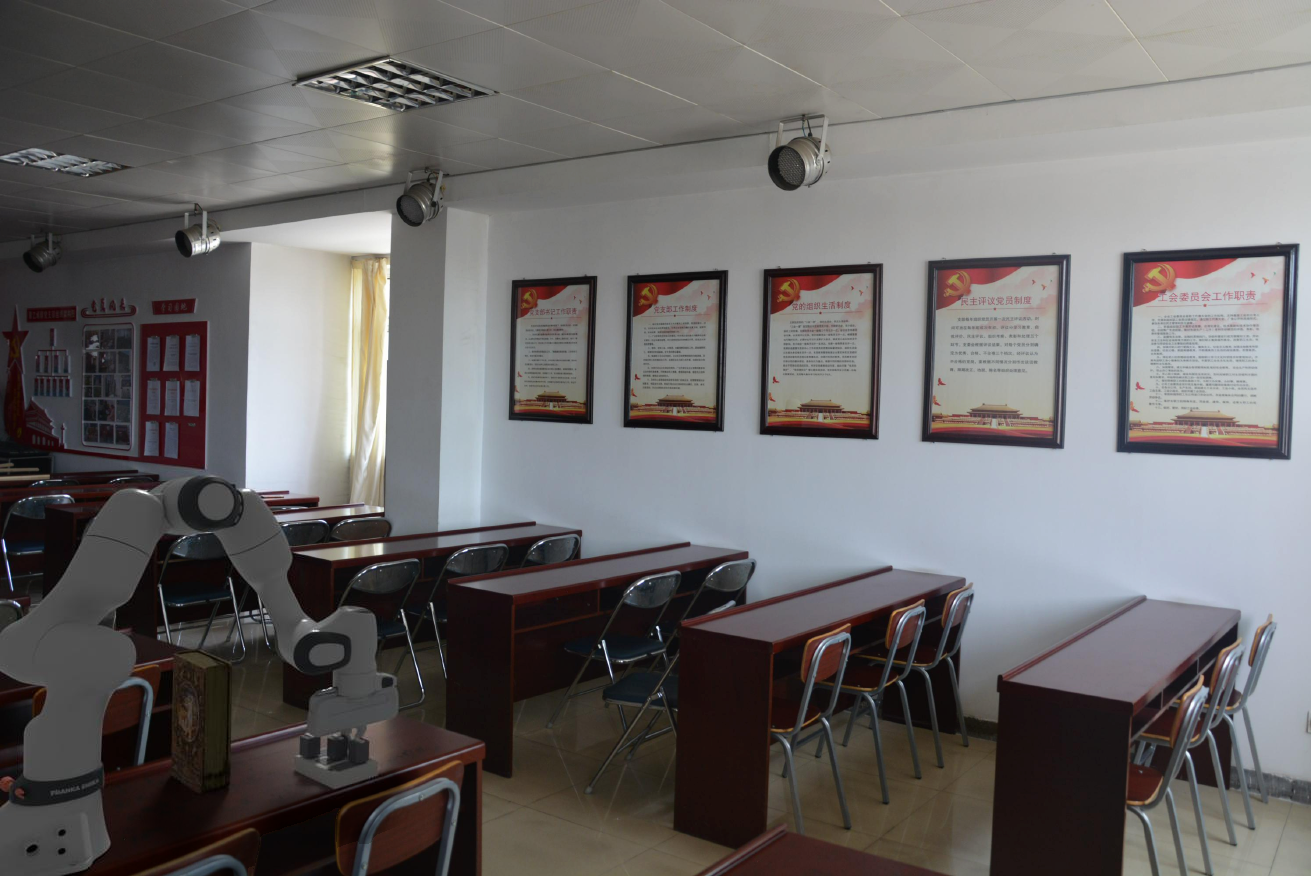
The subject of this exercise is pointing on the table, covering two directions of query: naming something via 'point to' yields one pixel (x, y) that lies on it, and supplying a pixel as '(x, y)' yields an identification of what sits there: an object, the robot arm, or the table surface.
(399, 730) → the table surface
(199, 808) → the table surface
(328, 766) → the switch panel
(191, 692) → the book
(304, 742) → the tab
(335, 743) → the tab middle
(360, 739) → the tab
